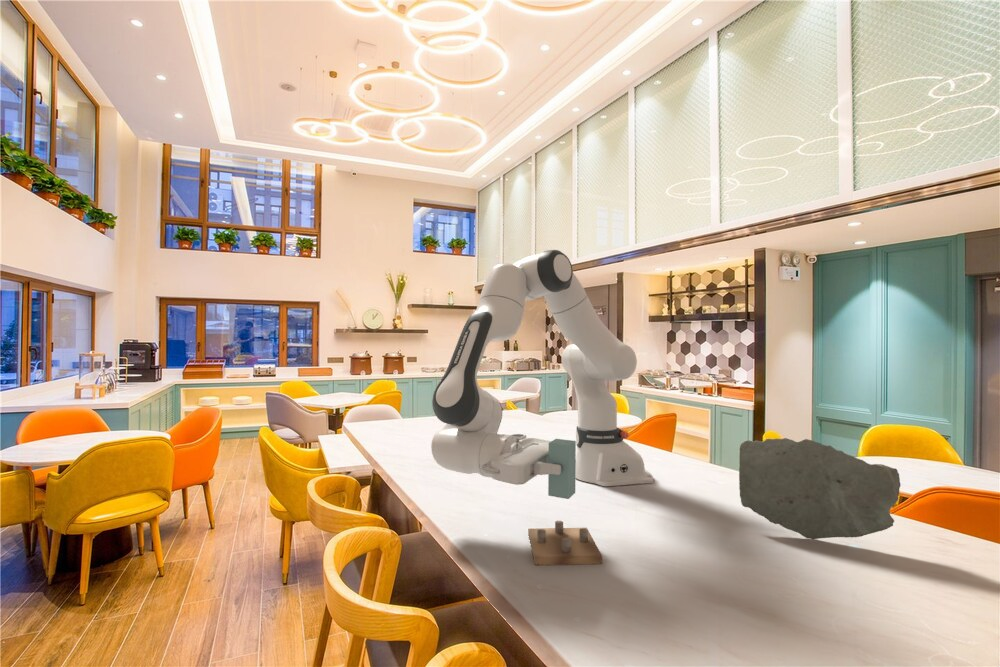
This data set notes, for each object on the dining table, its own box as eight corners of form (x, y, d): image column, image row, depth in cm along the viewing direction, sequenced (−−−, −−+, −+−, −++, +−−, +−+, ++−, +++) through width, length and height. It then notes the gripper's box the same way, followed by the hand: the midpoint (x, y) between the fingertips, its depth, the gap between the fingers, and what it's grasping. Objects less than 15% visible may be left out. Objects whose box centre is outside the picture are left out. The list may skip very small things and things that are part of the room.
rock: (895, 547, 90) (895, 443, 90) (904, 561, 84) (904, 450, 84) (739, 521, 103) (739, 430, 103) (738, 531, 97) (738, 435, 97)
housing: (586, 534, 96) (586, 517, 96) (601, 563, 84) (601, 544, 84) (528, 535, 95) (528, 518, 95) (535, 565, 83) (535, 545, 83)
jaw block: (548, 495, 89) (548, 442, 89) (555, 489, 92) (556, 438, 92) (568, 499, 87) (568, 445, 87) (575, 492, 90) (575, 440, 90)
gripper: (476, 452, 86) (546, 462, 80) (523, 432, 104) (582, 438, 98) (476, 486, 86) (545, 499, 80) (522, 460, 104) (582, 469, 98)
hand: (566, 465), depth 89 cm, fingers closed on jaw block, 4 cm apart
